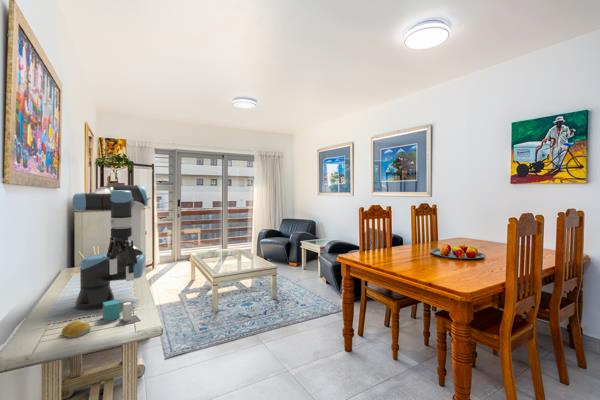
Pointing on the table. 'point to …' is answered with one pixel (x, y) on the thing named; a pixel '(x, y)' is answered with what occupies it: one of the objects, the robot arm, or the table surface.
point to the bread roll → (75, 329)
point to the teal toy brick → (111, 310)
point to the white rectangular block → (127, 311)
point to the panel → (133, 319)
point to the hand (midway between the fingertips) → (121, 277)
